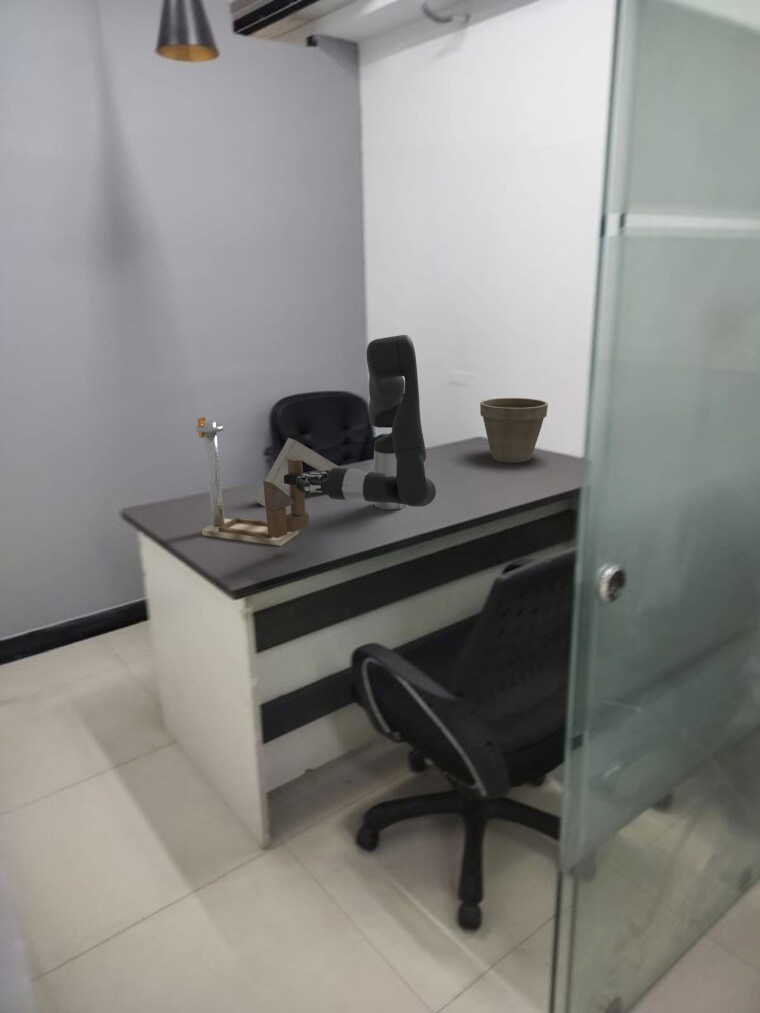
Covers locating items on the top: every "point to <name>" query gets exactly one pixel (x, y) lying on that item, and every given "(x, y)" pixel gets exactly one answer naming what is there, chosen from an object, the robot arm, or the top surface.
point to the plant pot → (513, 427)
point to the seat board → (247, 531)
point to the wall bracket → (281, 465)
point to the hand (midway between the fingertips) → (285, 478)
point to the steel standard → (213, 467)
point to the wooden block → (285, 504)
